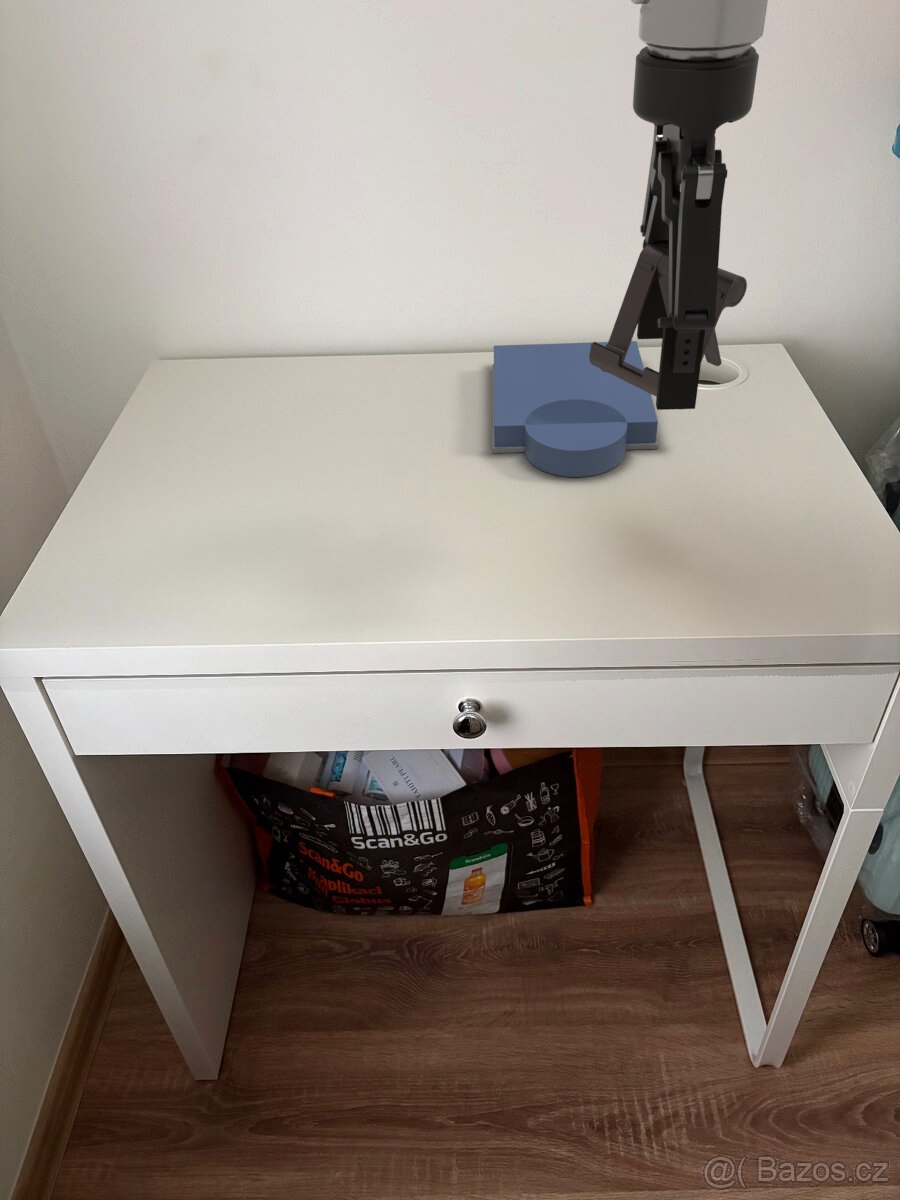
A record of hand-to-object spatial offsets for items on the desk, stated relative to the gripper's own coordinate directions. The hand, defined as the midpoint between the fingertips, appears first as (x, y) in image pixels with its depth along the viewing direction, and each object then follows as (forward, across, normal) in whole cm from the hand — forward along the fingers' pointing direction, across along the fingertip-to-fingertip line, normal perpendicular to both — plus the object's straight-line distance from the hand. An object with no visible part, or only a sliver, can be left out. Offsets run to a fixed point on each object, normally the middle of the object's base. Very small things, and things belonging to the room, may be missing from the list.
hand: (664, 369), depth 74 cm
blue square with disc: (+16, -22, -5) cm, 28 cm away
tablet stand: (+1, 0, 0) cm, 1 cm away
